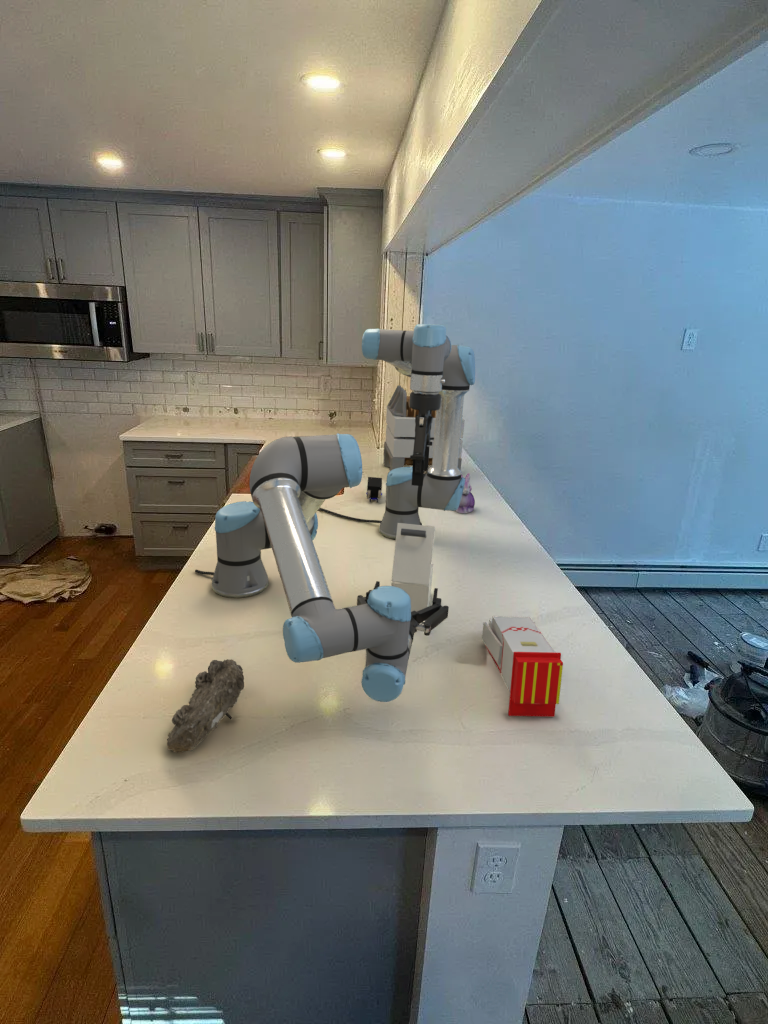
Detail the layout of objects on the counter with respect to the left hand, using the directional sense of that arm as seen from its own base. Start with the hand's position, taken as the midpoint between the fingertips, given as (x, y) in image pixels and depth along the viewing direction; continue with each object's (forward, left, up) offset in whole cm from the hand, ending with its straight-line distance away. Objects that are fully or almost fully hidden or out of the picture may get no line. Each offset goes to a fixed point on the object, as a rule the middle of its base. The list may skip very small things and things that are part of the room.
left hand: (406, 589), depth 132 cm
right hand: (0, +19, +22) cm, 29 cm away
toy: (+26, -9, -13) cm, 30 cm away
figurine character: (-25, +102, -13) cm, 106 cm away
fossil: (-32, -35, -13) cm, 50 cm away
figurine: (+12, +98, -13) cm, 100 cm away
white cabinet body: (0, +17, -13) cm, 21 cm away
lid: (0, +13, +3) cm, 14 cm away
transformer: (-11, +147, -13) cm, 148 cm away
